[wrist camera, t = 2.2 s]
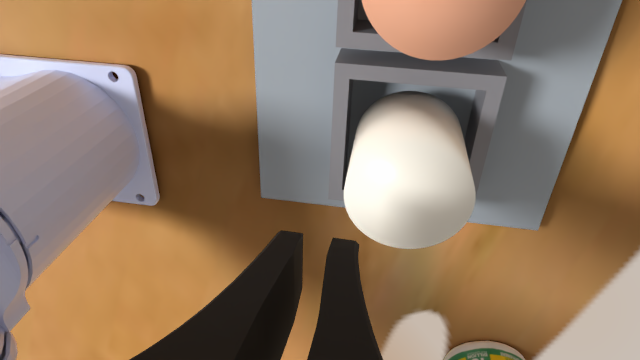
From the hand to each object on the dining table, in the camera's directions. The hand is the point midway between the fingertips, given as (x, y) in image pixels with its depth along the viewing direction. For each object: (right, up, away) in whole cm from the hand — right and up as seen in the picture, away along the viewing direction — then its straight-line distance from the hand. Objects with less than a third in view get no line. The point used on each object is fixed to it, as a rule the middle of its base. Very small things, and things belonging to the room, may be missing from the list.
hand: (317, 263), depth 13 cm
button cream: (+4, +4, +7) cm, 9 cm away
